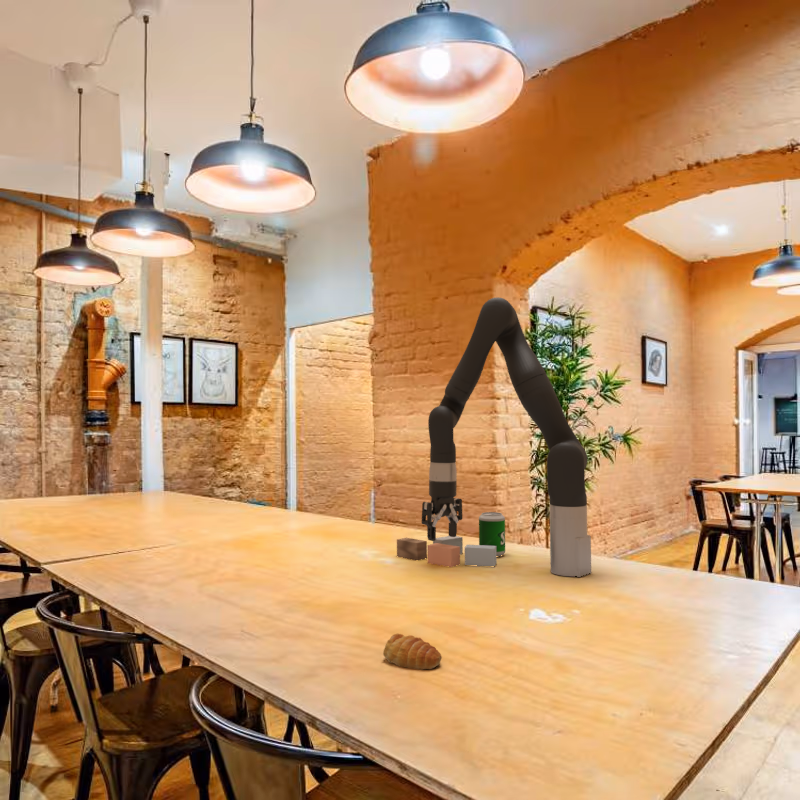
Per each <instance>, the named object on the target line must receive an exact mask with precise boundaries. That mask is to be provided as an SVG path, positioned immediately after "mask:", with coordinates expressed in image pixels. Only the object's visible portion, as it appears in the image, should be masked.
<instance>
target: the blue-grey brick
mask: <svg viewBox="0 0 800 800" xmlns="http://www.w3.org/2000/svg"><path fill="white" fill-rule="evenodd" d="M496 563H497V557H496V546H487V545H479V544H466V545H465V546H464V566H465V565H477V566H476V567H480V566H495V565H496V566H497V564H496ZM496 566H495V567H496Z"/></svg>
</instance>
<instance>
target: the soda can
mask: <svg viewBox="0 0 800 800" xmlns="http://www.w3.org/2000/svg"><path fill="white" fill-rule="evenodd" d="M478 545H487V546H496V556H501V555H504V554H506V517H505V516H504V515H503V513H501V512H495V511H488V512H487V511H486V512H482V513H481V514H480V515H479V516H478ZM501 557H502V556H501Z"/></svg>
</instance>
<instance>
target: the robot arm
mask: <svg viewBox="0 0 800 800" xmlns="http://www.w3.org/2000/svg"><path fill="white" fill-rule="evenodd" d="M516 311H517V310H516V309H515V307H513V305H512V304H511V303H510V302H509V301H508V300H507V299H505V298H503V297H492V298H490V299H488V300H487V301H485V302H484V304H483V305H482V306H481V309H480V311H479V314H478V317H477V320H476V322H475V326H474V328H473V331H472V334H471V336H470V339H469V341H468V344H467V345H466V348H465V350H464V352H463V354H462V356H461V359H460V360H459V362H458V363H457V366H456V367H455V369H454V371H453V373H452V375H451V376H450V379H449V381H448V383H447V384H446V386H445V388H444V395H443V397H442V399H441V402H440V403H439V404H438V406H435V407H434V408H432V410H431V411H430V413H429V415H428V435H429V436H428V437H429V441H430V449H429V455H430V456H429V469H428V471H429V472H428V495H429V497H430V498H431V499H430V502H429V501H428V502H427V501H423V502H422V503H421V504H422V508H421V525H425V526H426V530H427V531H426V532H427V534H426V535H427V536H426V537H427V540H428V541H431V542H433V541H435V540H436V538H437V537H436V535H437V523H438V522H439V521H440V520H441V518H443V517H446V518H447V520H448V536H450V537H456V536H457V534H458V526H457V525H458V523H459V522H460V521H462V520H463V499H461V498H459V497H457V489H458V488H457V486H458V485H457V481H458V480H457V478H458V477H457V473H458V471H457V464H456V463H457V461H456V460H457V459H456V458H457V453H456V452H457V448H456V444H455V441H454V428H455V427H456V426H457V425H458V422H459V421H460V418H461V416H462V415H463V412H464V409H465V407H466V404H467V402H468V400H469V399H470V398H471V396H472V394H473V392H474V390H475V387H477V384H478V382H479V381H480V378H481V375H482V373H483V370H484V367H485V365H486V361H487V358H488V356H489V354H490V351H491V349H492V347H493V345H494V344H495V343H496V345H497V346H498V347H499V350H500V351H501V354H502V355H503V358H504V361H505V364H506V365H505V366H506V369H507V372H508V376H509V379H510V381H511V384H512V387H513V389H514V391H515V394H516V395H517V398H518V399H519V401H520V403H521V405H522V407H523V408H524V410H525V412H526V413H527V414H528V416H529V417H530V418H531V420H532V421H533V422H534V423H535V425H536V426H537V428H538V429H539V431H540V433H541V434H542V436H543V438H544V441H545V443H546V445H547V448H548V453H547V458H546V479H547V480H546V481H547V493H548V497H549V498H548V499H549V549H550V550H549V557H550V558H549V559H550V560H549V561H550V562H549V563H550V565H549V566H550V572H551V574H554V575H558V576H562V577H563V576H564V577H575V576H577V578H581V576H582V577H584V576H587V575H590V574H592V539H591V535H590V534H588V500H587V499H588V496H587V493H586V484H585V483H586V481H585V479H586V477H585V476H586V475H585V470H586V467H587V466H588V454H587V452H586V450H585V448H584V446H583V445H582V444H581V442H580V441H579V439H578V438H577V436H576V435H575V432H574V431H573V429H572V428H571V426H570V424H569V422H568V420H567V419H566V416H565V414H564V411H563V407H562V406H561V403H560V401H559V398H558V396H557V394H556V391H555V390H554V386H553V384H552V383H551V380H550V378H549V377H548V375H547V373H546V371H545V369H544V367H543V366H542V363H541V362H540V361H539V359H538V357H537V355H536V354H535V353H534V351H533V350H532V348H531V346H530V345H529V343H528V340H527V338H526V336H525V334H524V333H525V332H524V331H523V329H522V326H521V323H520V320H519V317H518V314H517V312H516ZM589 573H590V574H589ZM586 574H587V575H586ZM583 575H584V576H583Z"/></svg>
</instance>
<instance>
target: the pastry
mask: <svg viewBox="0 0 800 800" xmlns="http://www.w3.org/2000/svg"><path fill="white" fill-rule="evenodd" d="M383 656H384V658H385V659H386V660H387V662H388V663H390V664H392V663H393V664H395V665H396V666H398V667H402V668H403V667H405V668H409V669H415V670H432V669H435V667H437V666H439V665H440V663H441V661H442V658H443V656H442V654H441V653H440V652H439V650H437V647H436V646H433V645H432V644H430V642H426V641H424V640H423V639H422V638H421V637H417V636H416V637H415V636H414V635H410V634H408V635H404V634H402V633H394V634H392V635H391V636H390V638H389V639H388V640H387V641H386V643H385V645H384V649H383Z"/></svg>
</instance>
